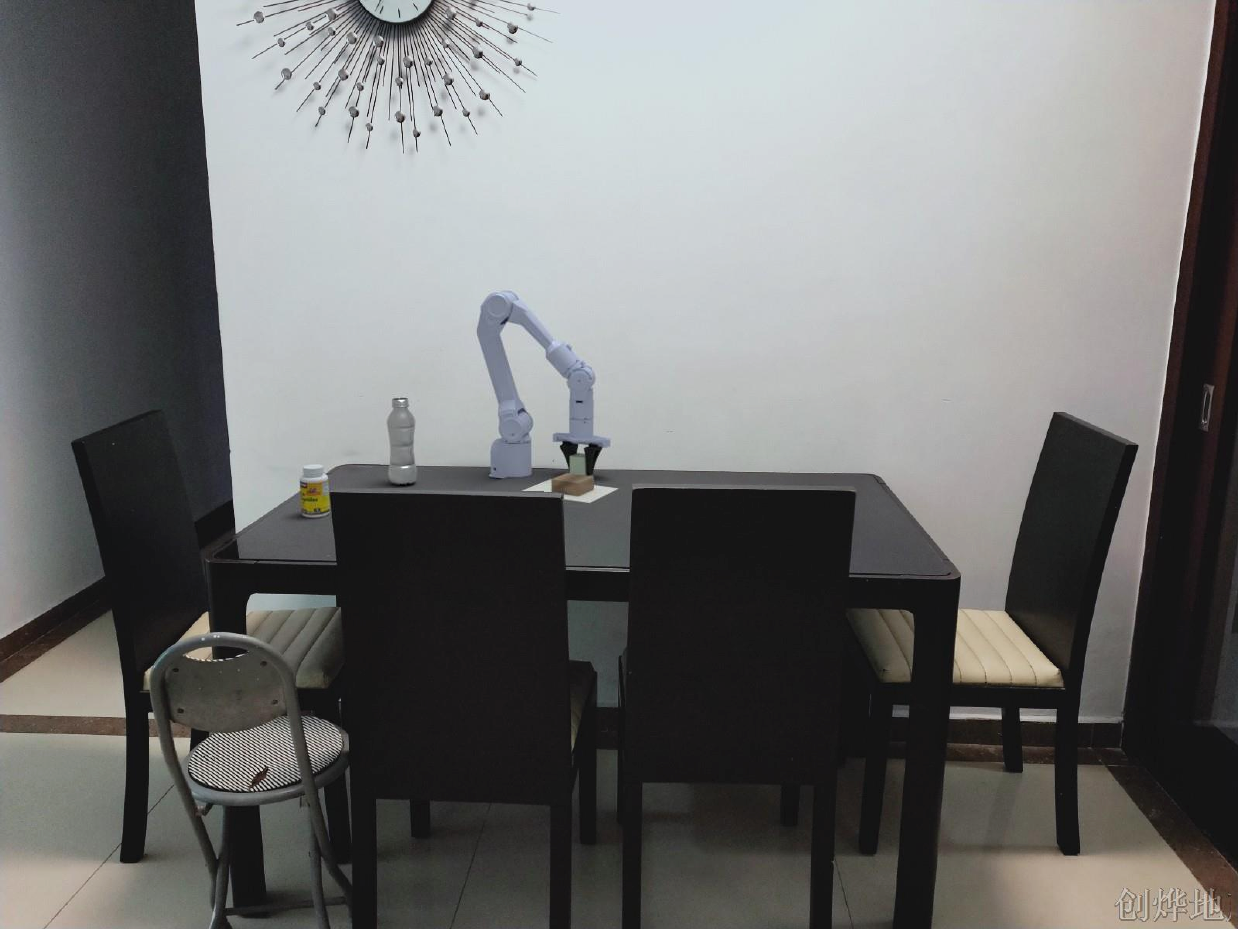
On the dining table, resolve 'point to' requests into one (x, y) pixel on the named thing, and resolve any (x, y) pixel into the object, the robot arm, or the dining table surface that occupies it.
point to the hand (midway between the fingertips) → (581, 473)
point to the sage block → (578, 464)
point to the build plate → (587, 497)
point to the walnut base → (572, 484)
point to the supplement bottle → (314, 492)
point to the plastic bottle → (401, 443)
